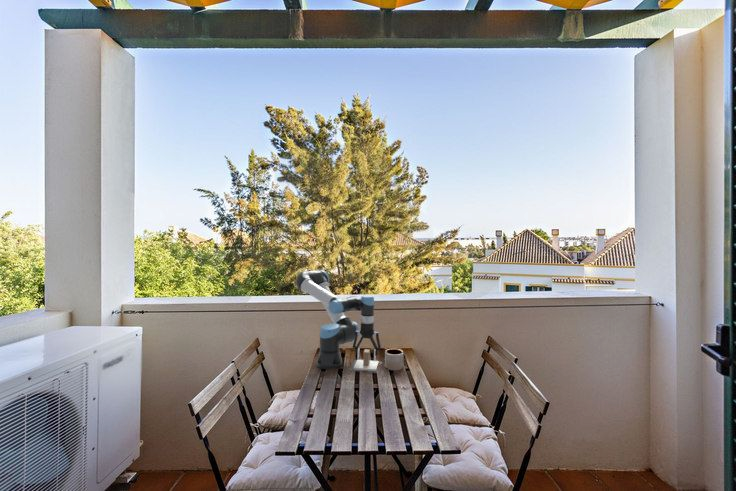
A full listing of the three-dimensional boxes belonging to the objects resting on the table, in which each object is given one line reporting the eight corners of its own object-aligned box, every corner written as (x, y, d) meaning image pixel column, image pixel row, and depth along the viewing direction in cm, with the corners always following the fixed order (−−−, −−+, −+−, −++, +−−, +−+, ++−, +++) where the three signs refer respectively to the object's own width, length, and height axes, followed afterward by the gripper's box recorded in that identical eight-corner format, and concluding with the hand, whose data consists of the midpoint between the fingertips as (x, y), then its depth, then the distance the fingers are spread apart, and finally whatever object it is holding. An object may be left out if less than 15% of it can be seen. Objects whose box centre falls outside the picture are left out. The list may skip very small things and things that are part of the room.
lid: (353, 369, 212) (353, 353, 211) (357, 361, 225) (357, 346, 224) (376, 371, 210) (376, 355, 210) (378, 362, 223) (379, 347, 222)
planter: (407, 368, 216) (407, 352, 215) (392, 372, 210) (392, 356, 209) (395, 362, 225) (395, 347, 224) (381, 366, 219) (381, 350, 218)
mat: (349, 371, 210) (349, 370, 210) (354, 360, 227) (354, 359, 227) (379, 373, 208) (379, 372, 208) (382, 362, 225) (382, 361, 225)
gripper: (347, 322, 214) (347, 361, 215) (385, 325, 211) (384, 363, 212) (350, 319, 221) (349, 356, 223) (386, 321, 218) (385, 359, 219)
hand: (366, 360), depth 217 cm, fingers open, 9 cm apart
